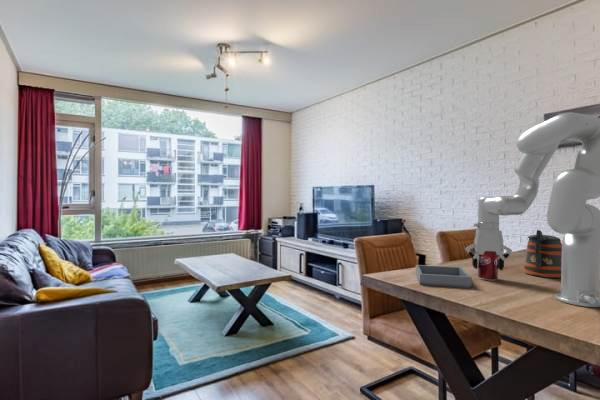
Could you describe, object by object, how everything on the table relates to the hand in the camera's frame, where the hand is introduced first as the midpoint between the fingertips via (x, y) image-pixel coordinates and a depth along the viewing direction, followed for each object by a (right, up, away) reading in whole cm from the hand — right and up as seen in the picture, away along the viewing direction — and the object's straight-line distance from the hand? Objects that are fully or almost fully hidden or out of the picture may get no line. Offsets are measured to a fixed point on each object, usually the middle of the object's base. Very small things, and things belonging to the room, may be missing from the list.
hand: (487, 268), depth 137 cm
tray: (-20, -4, -3) cm, 21 cm away
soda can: (0, -4, 0) cm, 4 cm away
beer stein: (+27, -4, +7) cm, 29 cm away
